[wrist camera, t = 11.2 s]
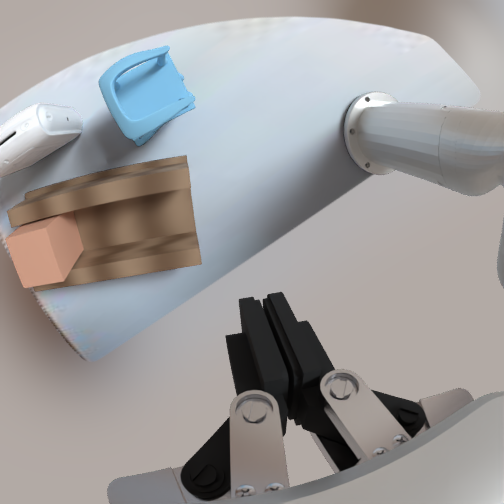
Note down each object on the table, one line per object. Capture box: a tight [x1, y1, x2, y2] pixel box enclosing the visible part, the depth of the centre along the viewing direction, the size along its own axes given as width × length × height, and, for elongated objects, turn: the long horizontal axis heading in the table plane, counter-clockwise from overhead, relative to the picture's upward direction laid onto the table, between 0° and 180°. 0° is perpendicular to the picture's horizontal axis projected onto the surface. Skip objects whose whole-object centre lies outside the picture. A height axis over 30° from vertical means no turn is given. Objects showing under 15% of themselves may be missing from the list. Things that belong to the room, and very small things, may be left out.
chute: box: [7, 155, 202, 292], centre depth 29 cm, size 22×12×6 cm, turn 93°
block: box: [5, 211, 84, 288], centre depth 25 cm, size 6×6×8 cm
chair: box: [99, 46, 195, 146], centre depth 22 cm, size 8×8×12 cm
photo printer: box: [0, 102, 83, 178], centre depth 19 cm, size 10×4×12 cm, turn 106°
